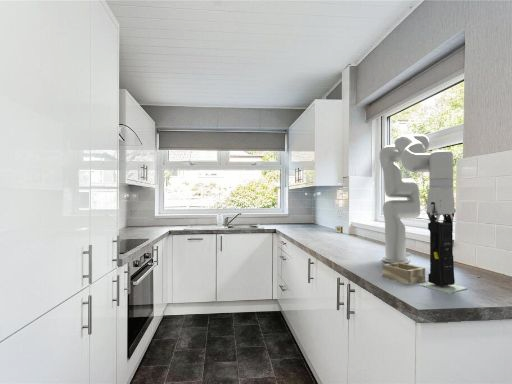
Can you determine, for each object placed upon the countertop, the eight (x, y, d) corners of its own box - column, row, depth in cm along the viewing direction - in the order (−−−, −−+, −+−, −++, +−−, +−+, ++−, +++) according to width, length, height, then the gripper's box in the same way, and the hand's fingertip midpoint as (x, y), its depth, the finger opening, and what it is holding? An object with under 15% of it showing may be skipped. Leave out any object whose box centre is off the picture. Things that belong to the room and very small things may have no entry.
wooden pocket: (398, 273, 127) (398, 262, 127) (425, 280, 116) (425, 268, 116) (382, 276, 123) (382, 264, 123) (408, 284, 112) (408, 271, 112)
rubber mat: (436, 281, 116) (436, 280, 116) (467, 289, 106) (467, 288, 106) (419, 285, 111) (419, 284, 111) (449, 293, 101) (449, 292, 101)
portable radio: (441, 287, 104) (440, 217, 104) (425, 282, 110) (425, 216, 110) (456, 285, 107) (455, 216, 107) (440, 280, 112) (440, 215, 113)
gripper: (444, 184, 116) (445, 229, 116) (416, 184, 108) (417, 232, 108) (465, 184, 109) (465, 231, 109) (436, 183, 102) (437, 234, 101)
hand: (441, 231), depth 109 cm, fingers closed on portable radio, 7 cm apart
